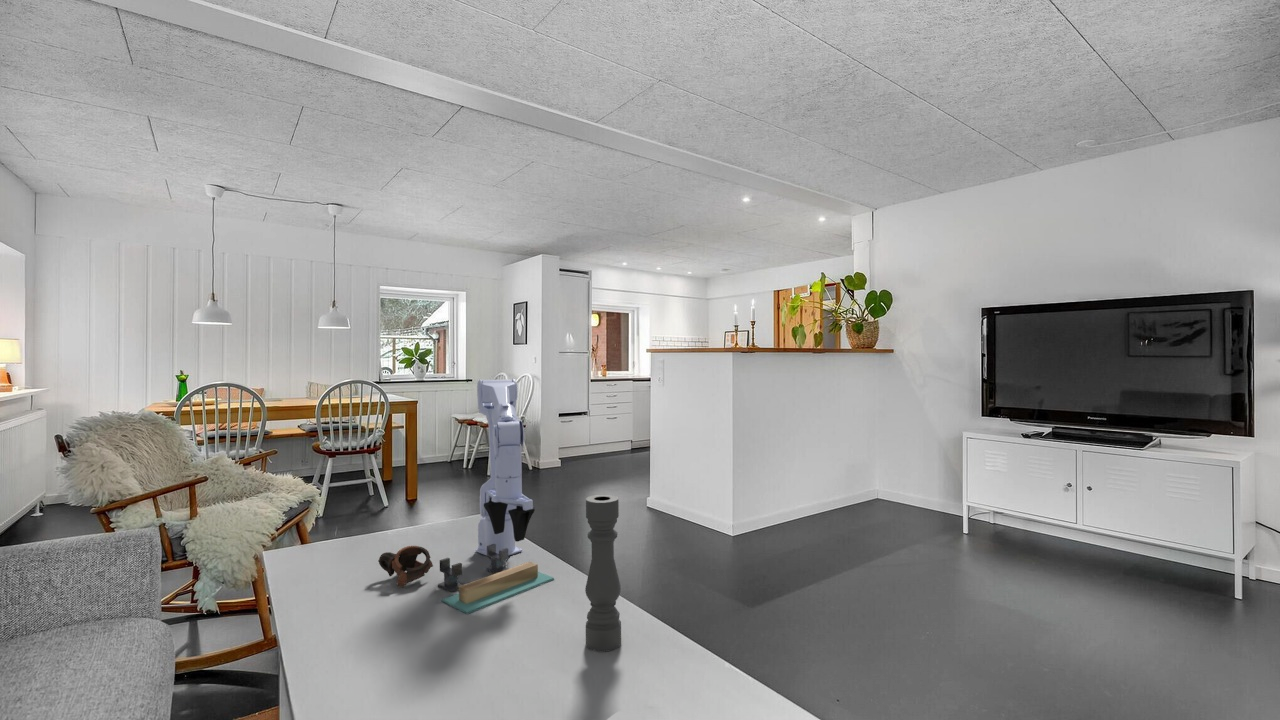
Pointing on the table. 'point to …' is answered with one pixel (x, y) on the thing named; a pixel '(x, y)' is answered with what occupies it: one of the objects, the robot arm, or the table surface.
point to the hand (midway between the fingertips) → (509, 536)
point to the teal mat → (496, 595)
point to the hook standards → (456, 570)
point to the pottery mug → (406, 564)
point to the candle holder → (603, 575)
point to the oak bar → (497, 582)
